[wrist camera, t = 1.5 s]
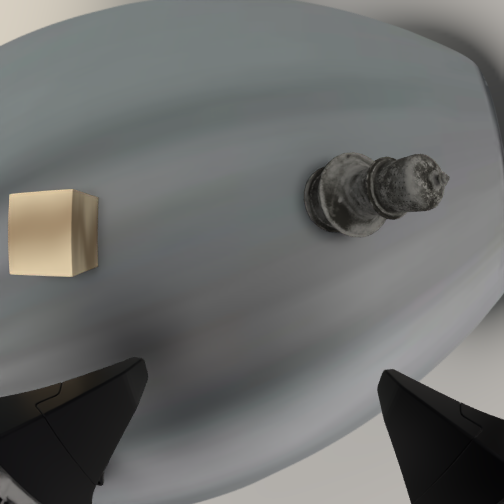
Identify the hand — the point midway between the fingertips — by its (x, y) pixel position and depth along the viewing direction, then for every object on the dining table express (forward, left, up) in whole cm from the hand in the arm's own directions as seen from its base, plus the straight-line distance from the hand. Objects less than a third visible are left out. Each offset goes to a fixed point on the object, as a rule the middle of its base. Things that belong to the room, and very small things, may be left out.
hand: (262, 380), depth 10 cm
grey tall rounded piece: (+10, -6, -12) cm, 17 cm away
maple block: (+2, +13, -12) cm, 18 cm away
